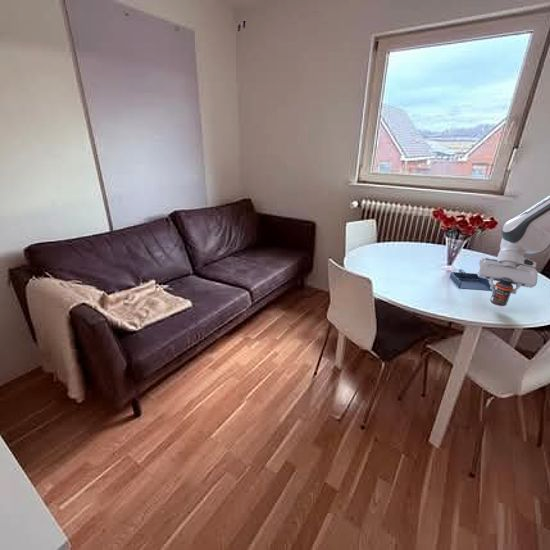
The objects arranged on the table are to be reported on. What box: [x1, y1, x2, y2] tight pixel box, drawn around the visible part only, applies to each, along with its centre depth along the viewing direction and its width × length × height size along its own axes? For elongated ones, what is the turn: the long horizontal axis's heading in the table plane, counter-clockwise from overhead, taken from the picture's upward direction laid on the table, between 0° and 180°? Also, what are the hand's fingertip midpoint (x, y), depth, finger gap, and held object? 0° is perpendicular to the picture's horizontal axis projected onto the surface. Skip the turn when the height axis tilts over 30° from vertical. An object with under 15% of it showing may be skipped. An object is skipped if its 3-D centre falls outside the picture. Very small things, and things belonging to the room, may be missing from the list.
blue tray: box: [449, 268, 493, 292], centre depth 158 cm, size 20×15×3 cm
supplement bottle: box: [489, 277, 514, 307], centre depth 129 cm, size 6×6×11 cm
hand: (502, 291), depth 128 cm, fingers closed on supplement bottle, 6 cm apart
